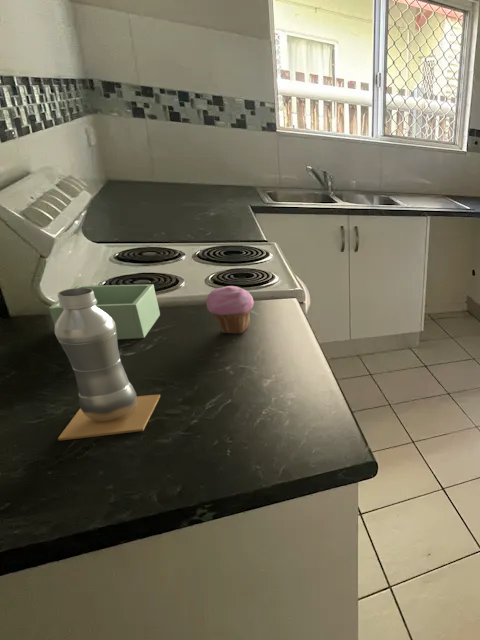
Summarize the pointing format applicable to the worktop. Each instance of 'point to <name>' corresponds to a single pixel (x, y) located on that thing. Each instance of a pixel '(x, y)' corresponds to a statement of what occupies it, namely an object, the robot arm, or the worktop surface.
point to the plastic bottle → (94, 356)
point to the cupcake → (230, 308)
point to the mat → (111, 421)
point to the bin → (123, 308)
